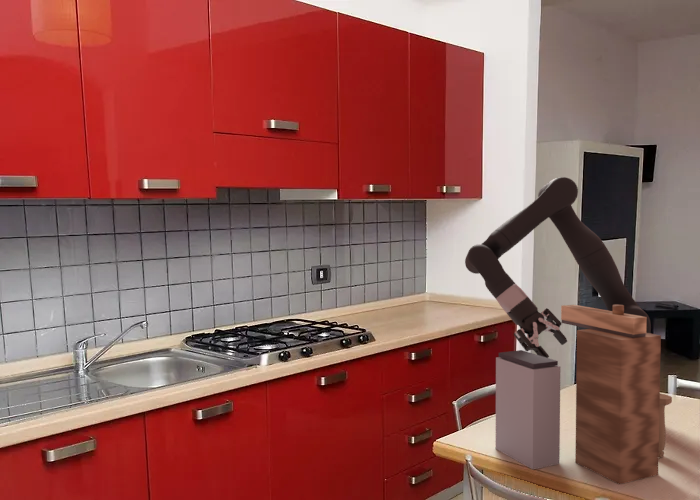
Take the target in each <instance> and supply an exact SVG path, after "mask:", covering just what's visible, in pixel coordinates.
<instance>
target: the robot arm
mask: <svg viewBox="0 0 700 500" xmlns="http://www.w3.org/2000/svg"><path fill="white" fill-rule="evenodd" d="M578 196H579V188H578V186H577V183H576V182H575V181H574V180H573V179H571V178H568V177H565V176H559V177H556V178H553V179H552V180H549V181H548V182H547V183H545V184H544V185H543V186H542V187H540V189H539V191H538V194H537V197H536V199H535V200H534V201H533V202H531V203H529V205H527V206H525V207H524V208H523V209H522V210H521V211H519V212H518V213H516V214H514V215H513V216H512V217H510V218H509V219H508V220H506V221H505V222H503V223H502V224H501V225H500V226H498V227H497V228H496V229H495V230H493V231H492V232H491V233H490V234H489V236H488V237H487V238H486V239H485V240H484V241H483V242H482V243H481V244H478V243H477V244H474V245H473V246H472V247H470V248H469V250H468V252H467V254H466V256H465V260H464V264H465V267H466V269H467V270H468V271H469V272H470V273H471V274H477V275H478V274H480V276H481V278H482V279H483V280H484V285H485V287H486V289H487V291H488V292H489V293H490V294H491V295H492V296H493V297H494V299H495V300H496V302H497V303H498V304H499V307H501V309H502V310H503V311H504V312H505V313H506V314H507V316H508V317H509V319H511V320H512V322H513V323H514V324H515V325H516V326H518V327H519V329H517V330H516V331H514V333H513V336H514V337H515V338H516V340H517V342H519V344H520V345H521V346H522V348H523V350H524V351H526V352H530V351H533V352H534V353H535V354H536V355H539V356H543V357H546V358H550V356H549V354H548V353H547V351H546V350H545V349H544V348H543V347H542V345H540V343H539V335H541V334H542V333H543V332H548V333H551V334H553V336H554V338H555V339H556V340H557V341H558V342H559V343H560V345H561V346H563V345H565V344H566V343H567V342H568V340H567V337H566V336H565V334H563V332H562V331H561V330H560V328H561V326H562V325H563V323H562V321H561V320H559V318H557V317H556V316H555V314H554V313H553V312H552V311H551V310H550V309H549V308H545V309H544V310H542V311H541V312H539V310H538V309H539V308H538V307H537V305H536V303H534V302H533V301H532V300H531V298H530V297H529V296H528V295H527V293H526V292H525V291H524V290H523V289H522V288H521V287H520V286H519V285H518V284H517V283H516V282H515V281H514V280H513V278H511V276H510V275H509V274H508V273H507V272H506V271H505V270H504V268H503V265H502V263H501V262H500V261H499V260H500V258H501V257H502V256H503V255H504V254H506V253H507V252H509V251H510V250H511V249H512V248H513V247H515V246H516V245H517V244H519V243H520V242H521V241H522V240H523V239H525V237H527V236H528V235H529V234H530V233H532V231H534V230H535V229H536V228H537V227H538V226H540V225H541V224H542V223H543V222H544V221H546V220H547V219H548V218H549V220H551V222H552V223H553V224H554V226H555V228H556V229H557V230H558V232H559V234H560V236H561V237H562V239H563V241H564V242H565V244H566V246H567V248H568V249H569V251H570V253H571V254H572V256H573V258H574V260H575V261H576V263H577V265H578V267H579V268H580V270H581V272H582V274H583V275H584V276H585V278H586V280H587V281H588V282H589V283H590V285H591V286H592V287H593V288H594V289H595V291H596V292H597V293H598V296H600V297H601V299H602V301H603V303H604V305H605V307H606V310H608V311H613V305H624V313H625V314H631V315H637V316H643V317H647V321H646V333H650V334H652V333H651V329H652V327H651V326H652V325H651V319H650V317H649V315H648V314H647V313H646V311H644V310H643V309H642V308H641V307H640V305H638V303H637V302H636V300H635V299H634V298H633V296H632V295H631V293H630V292H629V291H628V289H627V288H626V285H625V284H624V281H623V279H622V276H621V273H620V271H619V268H618V267H617V264H616V263H615V260H614V258H613V256H612V255H611V252H610V251H609V250H608V247H607V245H605V242H604V241H603V240H602V238H600V236H598V235H597V234H596V233H595V232H594V231H593V230H591V229H590V228H589V227H588V226H587V225H585V223H584V222H582V221H581V220H580V218H579V216H578V215H577V214H576V212H575V210H574V208H573V206H572V205H573V204H574V203H575V201H576V200H577V198H578Z"/></svg>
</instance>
